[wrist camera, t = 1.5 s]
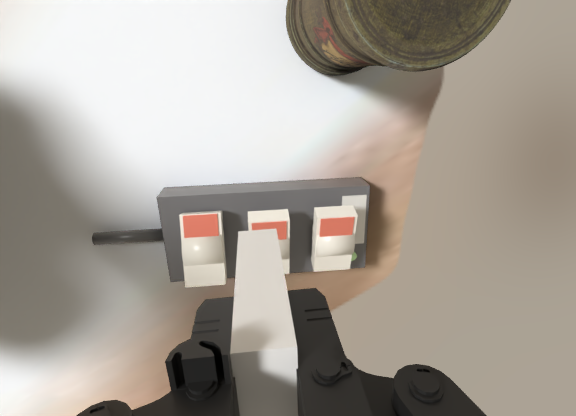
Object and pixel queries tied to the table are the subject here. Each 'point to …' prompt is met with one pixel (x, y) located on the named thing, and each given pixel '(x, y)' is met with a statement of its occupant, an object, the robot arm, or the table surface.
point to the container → (388, 32)
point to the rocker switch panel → (235, 216)
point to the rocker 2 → (274, 221)
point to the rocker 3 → (333, 237)
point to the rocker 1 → (203, 248)
